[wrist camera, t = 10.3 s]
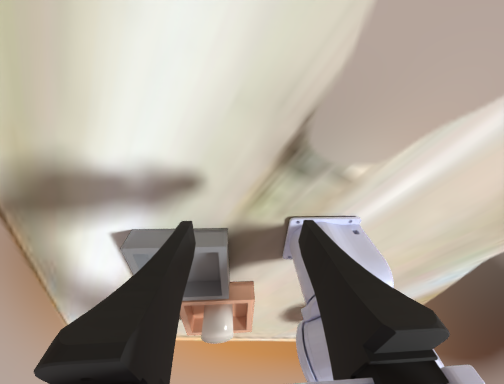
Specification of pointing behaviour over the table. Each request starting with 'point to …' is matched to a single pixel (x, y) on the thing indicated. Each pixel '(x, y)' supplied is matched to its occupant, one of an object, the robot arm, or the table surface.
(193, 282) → the bin
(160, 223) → the table surface
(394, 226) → the table surface
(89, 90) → the table surface
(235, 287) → the dump bin
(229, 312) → the white rounded cylinder
